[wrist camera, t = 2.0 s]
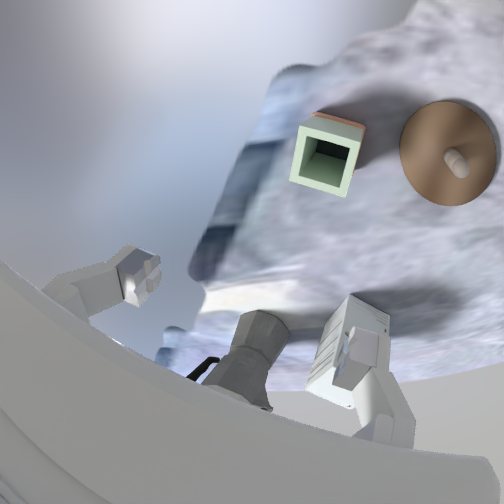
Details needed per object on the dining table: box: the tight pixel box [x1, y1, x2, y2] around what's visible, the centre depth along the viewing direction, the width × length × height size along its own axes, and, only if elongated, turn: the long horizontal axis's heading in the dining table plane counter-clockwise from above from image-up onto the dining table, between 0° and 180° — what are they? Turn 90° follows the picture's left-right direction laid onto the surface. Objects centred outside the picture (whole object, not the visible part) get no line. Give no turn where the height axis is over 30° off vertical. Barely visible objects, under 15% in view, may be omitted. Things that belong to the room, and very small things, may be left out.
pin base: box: [400, 101, 496, 206], centre depth 23 cm, size 11×11×6 cm
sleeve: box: [289, 112, 366, 198], centre depth 26 cm, size 5×5×8 cm
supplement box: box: [304, 294, 390, 410], centre depth 36 cm, size 7×7×13 cm
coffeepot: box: [186, 311, 290, 413], centre depth 44 cm, size 15×9×18 cm, turn 105°
